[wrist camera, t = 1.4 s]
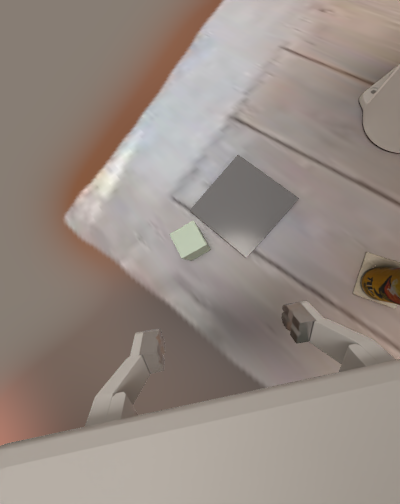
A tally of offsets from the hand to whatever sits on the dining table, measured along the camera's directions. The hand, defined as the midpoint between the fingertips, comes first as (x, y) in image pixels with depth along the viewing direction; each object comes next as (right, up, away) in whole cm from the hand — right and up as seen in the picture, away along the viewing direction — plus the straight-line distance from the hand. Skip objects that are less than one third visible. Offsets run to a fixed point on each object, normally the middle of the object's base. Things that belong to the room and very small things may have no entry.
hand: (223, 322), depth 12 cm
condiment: (+32, -1, +22) cm, 39 cm away
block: (-2, +6, +28) cm, 29 cm away
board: (+8, +15, +27) cm, 32 cm away
